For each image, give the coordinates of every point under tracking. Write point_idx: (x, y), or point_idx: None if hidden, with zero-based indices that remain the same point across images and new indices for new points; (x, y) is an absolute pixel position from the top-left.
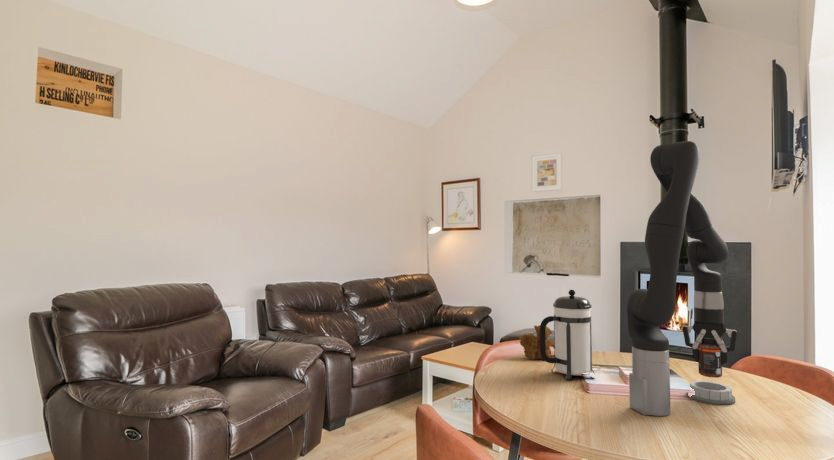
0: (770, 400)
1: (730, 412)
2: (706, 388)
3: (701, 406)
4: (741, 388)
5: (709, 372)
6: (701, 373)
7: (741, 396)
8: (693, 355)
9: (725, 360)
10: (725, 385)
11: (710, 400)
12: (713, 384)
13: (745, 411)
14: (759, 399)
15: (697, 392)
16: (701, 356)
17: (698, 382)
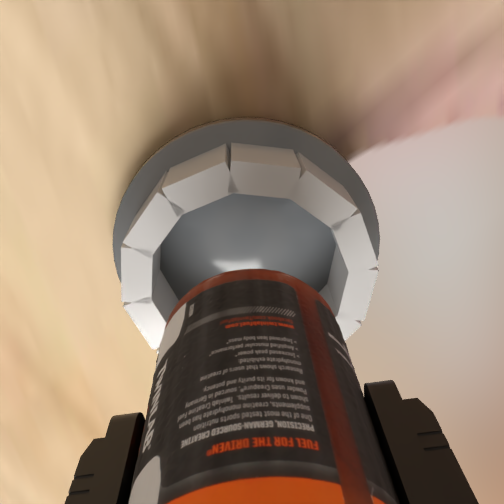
0: (12, 399)
1: (70, 14)
2: None
3: (254, 9)
4: None
5: (239, 287)
6: (309, 287)
7: (130, 374)
8: (434, 434)
9: (94, 466)
10: None
11: (219, 126)
12: None
13: (16, 116)
14: (52, 383)
15: (310, 166)
16: (339, 415)
17: None
